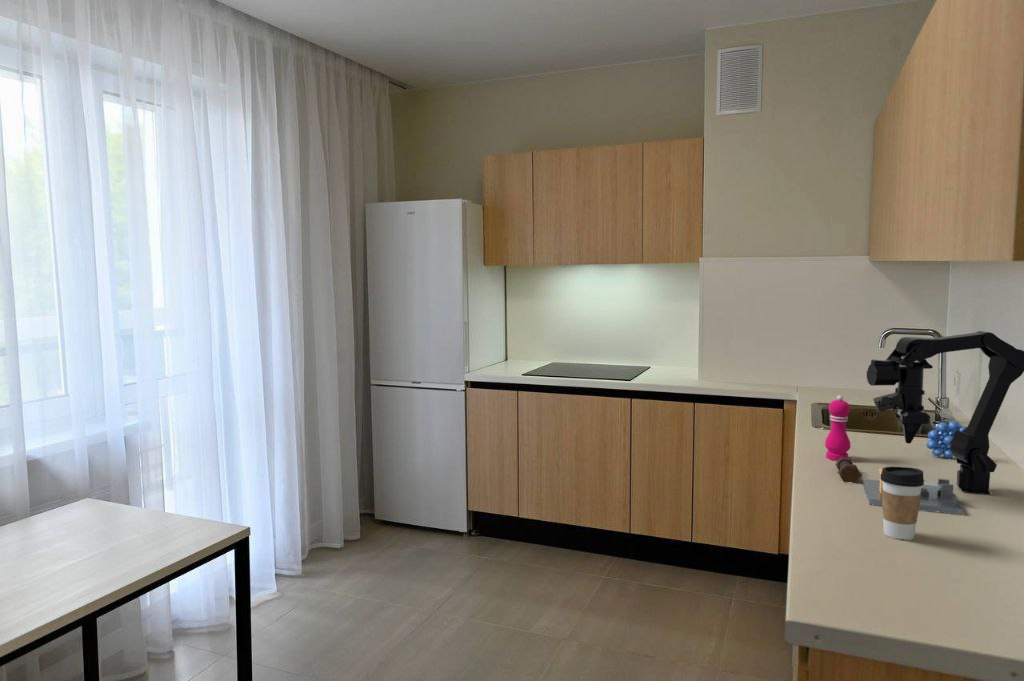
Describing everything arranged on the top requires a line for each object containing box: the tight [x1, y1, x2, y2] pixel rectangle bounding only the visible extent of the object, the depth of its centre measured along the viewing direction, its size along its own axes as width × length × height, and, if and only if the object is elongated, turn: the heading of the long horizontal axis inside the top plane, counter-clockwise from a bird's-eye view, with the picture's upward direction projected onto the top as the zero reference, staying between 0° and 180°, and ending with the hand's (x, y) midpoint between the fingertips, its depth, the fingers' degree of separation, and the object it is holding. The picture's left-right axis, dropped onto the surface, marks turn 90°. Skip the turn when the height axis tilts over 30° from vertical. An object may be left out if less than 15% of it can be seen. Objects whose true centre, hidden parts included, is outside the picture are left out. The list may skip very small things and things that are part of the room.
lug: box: [878, 468, 883, 494], centre depth 180 cm, size 4×6×5 cm, turn 158°
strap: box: [921, 480, 942, 491], centre depth 179 cm, size 14×3×1 cm, turn 68°
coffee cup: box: [879, 466, 925, 540], centre depth 154 cm, size 8×8×15 cm
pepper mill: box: [824, 394, 851, 462], centre depth 216 cm, size 7×7×20 cm
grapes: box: [925, 420, 968, 459], centre depth 218 cm, size 12×7×12 cm, turn 66°
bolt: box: [835, 457, 862, 484], centre depth 200 cm, size 6×5×15 cm
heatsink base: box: [862, 478, 964, 516], centre depth 179 cm, size 20×18×5 cm
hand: (908, 443), depth 186 cm, fingers closed
